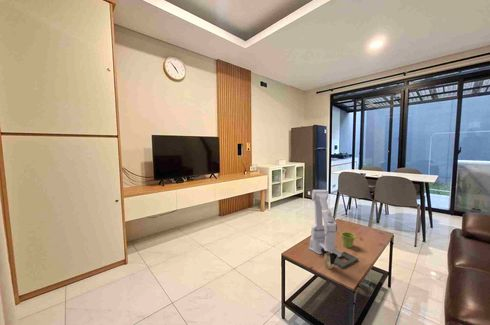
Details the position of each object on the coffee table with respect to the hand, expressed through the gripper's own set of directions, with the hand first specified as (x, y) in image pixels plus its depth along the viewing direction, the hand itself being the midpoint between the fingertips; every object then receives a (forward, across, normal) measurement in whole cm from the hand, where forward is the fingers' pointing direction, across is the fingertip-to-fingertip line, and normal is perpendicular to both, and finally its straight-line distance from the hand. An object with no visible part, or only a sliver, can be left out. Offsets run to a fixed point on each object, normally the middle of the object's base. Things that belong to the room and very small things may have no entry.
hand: (329, 262), depth 128 cm
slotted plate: (+3, +1, +14) cm, 14 cm away
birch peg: (+3, 0, 0) cm, 3 cm away
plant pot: (+3, -9, +34) cm, 35 cm away
